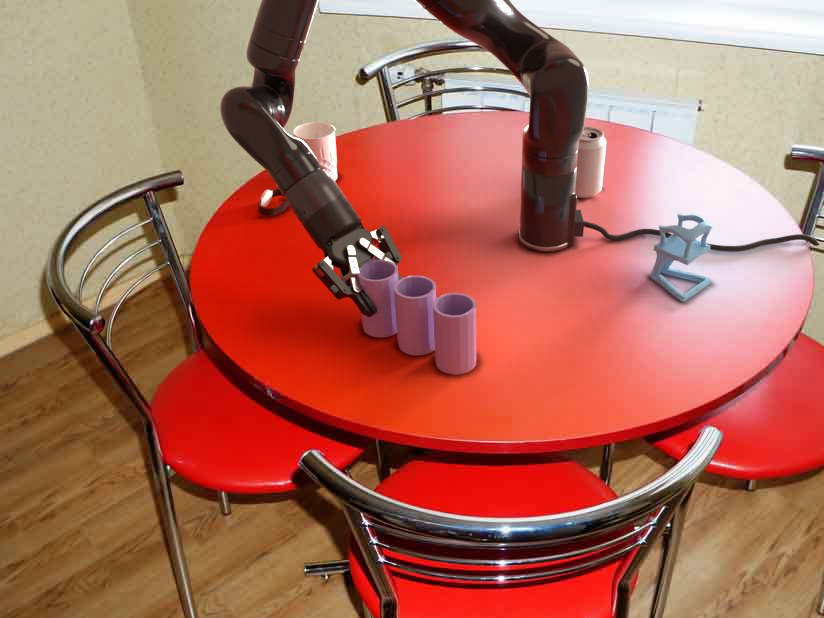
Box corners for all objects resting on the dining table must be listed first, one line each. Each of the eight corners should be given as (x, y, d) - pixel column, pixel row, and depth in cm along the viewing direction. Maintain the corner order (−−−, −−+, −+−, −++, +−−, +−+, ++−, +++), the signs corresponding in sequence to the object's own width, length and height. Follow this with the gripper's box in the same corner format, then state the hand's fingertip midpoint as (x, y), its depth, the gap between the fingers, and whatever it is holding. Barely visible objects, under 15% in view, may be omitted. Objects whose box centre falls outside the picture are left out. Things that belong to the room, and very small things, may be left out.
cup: (475, 348, 125) (475, 292, 119) (477, 374, 121) (476, 316, 115) (435, 350, 125) (432, 293, 119) (435, 375, 120) (432, 317, 114)
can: (603, 200, 162) (609, 140, 154) (563, 199, 162) (567, 140, 154) (600, 182, 168) (605, 124, 160) (562, 181, 168) (565, 123, 160)
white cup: (306, 191, 163) (299, 141, 157) (294, 174, 169) (287, 126, 162) (346, 183, 166) (340, 134, 160) (332, 167, 172) (327, 119, 165)
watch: (276, 197, 161) (273, 179, 159) (297, 202, 160) (294, 184, 158) (252, 215, 156) (249, 197, 153) (274, 220, 154) (271, 202, 152)
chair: (668, 264, 144) (678, 200, 137) (710, 283, 140) (723, 218, 132) (641, 282, 140) (650, 217, 132) (683, 302, 135) (695, 236, 128)
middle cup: (438, 331, 129) (435, 274, 122) (438, 354, 124) (435, 297, 118) (398, 332, 128) (394, 275, 122) (397, 356, 124) (393, 298, 118)
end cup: (402, 314, 132) (398, 258, 126) (401, 337, 127) (396, 280, 121) (364, 315, 132) (358, 259, 125) (361, 338, 127) (355, 281, 121)
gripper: (295, 217, 116) (366, 318, 118) (368, 179, 125) (433, 274, 127) (275, 239, 122) (343, 335, 124) (346, 201, 131) (408, 292, 133)
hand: (388, 304), depth 126 cm, fingers closed on end cup, 6 cm apart
